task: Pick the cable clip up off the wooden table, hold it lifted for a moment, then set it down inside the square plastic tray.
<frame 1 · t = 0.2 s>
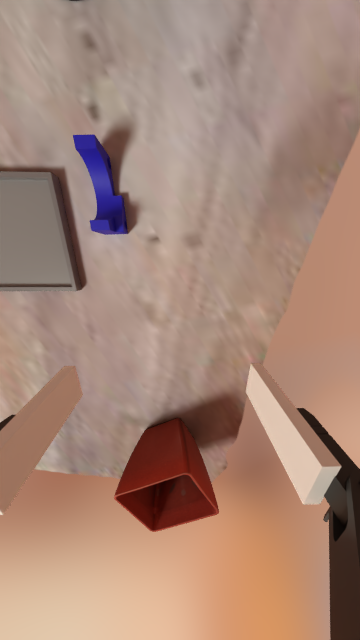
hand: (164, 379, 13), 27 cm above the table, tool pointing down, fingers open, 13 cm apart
cable clip: (111, 198, 32), on the table
tray: (20, 238, 33), on the table
plant pot: (170, 434, 55), on the table
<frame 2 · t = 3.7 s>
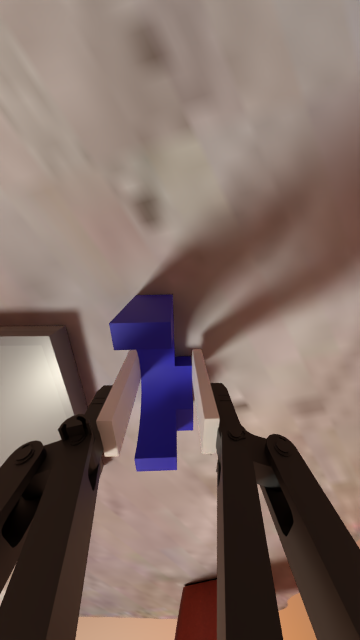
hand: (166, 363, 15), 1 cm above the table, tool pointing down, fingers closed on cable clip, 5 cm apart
cable clip: (167, 355, 16), on the table, touching gripper
plant pot: (217, 586, 40), on the table
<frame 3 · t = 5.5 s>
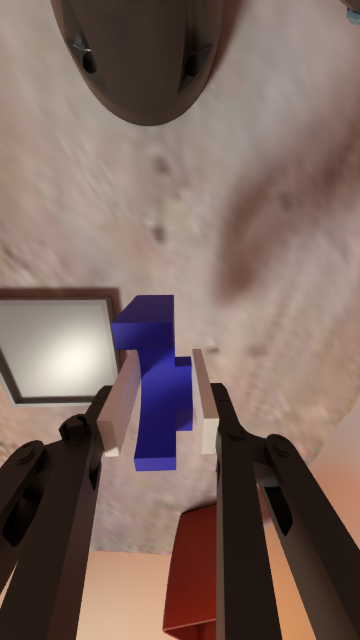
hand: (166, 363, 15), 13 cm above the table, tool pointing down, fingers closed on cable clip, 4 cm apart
cable clip: (167, 355, 16), point 12 cm above the table, touching gripper
tray: (61, 353, 29), on the table
plant pot: (207, 516, 51), on the table
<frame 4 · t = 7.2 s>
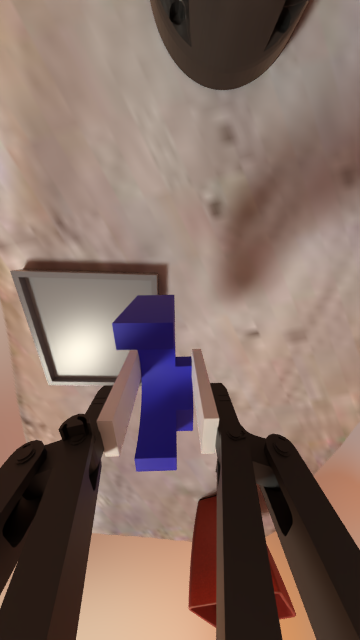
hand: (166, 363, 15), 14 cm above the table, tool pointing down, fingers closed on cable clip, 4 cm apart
cable clip: (167, 355, 16), point 13 cm above the table, touching gripper
tray: (100, 331, 29), on the table
plant pot: (224, 503, 52), on the table
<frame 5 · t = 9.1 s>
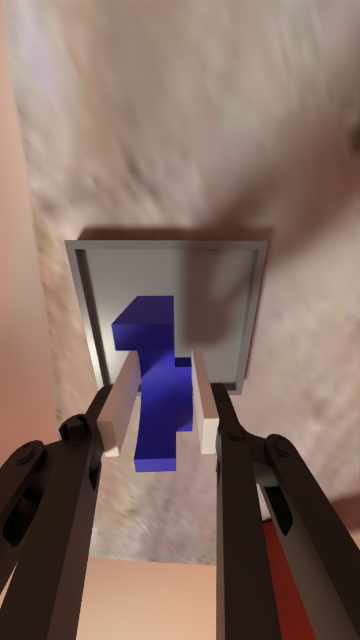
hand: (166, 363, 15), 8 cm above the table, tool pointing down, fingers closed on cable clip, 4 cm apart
cable clip: (167, 356, 16), point 6 cm above the table, touching gripper
tray: (170, 325, 22), on the table
plant pot: (285, 526, 44), on the table
when the fingers open (3 cm above the table, at t = 10.6 s): cable clip stays where it is, resting on tray.
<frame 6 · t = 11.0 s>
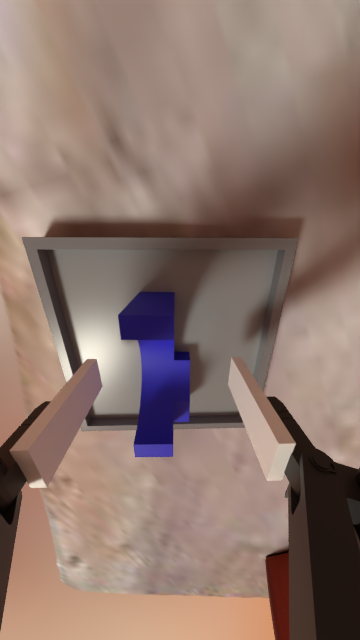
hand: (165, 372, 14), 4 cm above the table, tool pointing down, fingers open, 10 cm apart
cable clip: (166, 350, 17), point 1 cm above the table, touching tray
tray: (167, 344, 18), on the table
plant pot: (296, 558, 40), on the table
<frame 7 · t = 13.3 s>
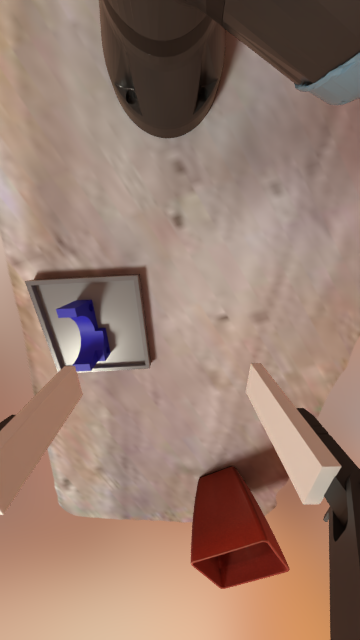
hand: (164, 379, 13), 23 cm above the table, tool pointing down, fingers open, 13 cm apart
cable clip: (95, 327, 35), point 1 cm above the table, touching tray
tray: (98, 325, 35), on the table
plant pot: (223, 480, 56), on the table
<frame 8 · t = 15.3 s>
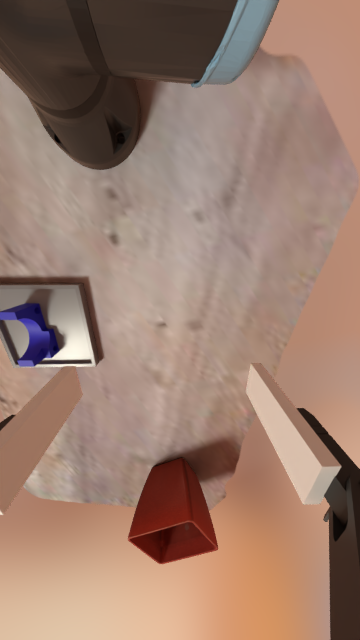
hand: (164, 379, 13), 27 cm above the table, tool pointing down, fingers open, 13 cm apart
cable clip: (44, 328, 39), point 1 cm above the table, touching tray
tray: (49, 326, 40), on the table
plant pot: (174, 470, 62), on the table
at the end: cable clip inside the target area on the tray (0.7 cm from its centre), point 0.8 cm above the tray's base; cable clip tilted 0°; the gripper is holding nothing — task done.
